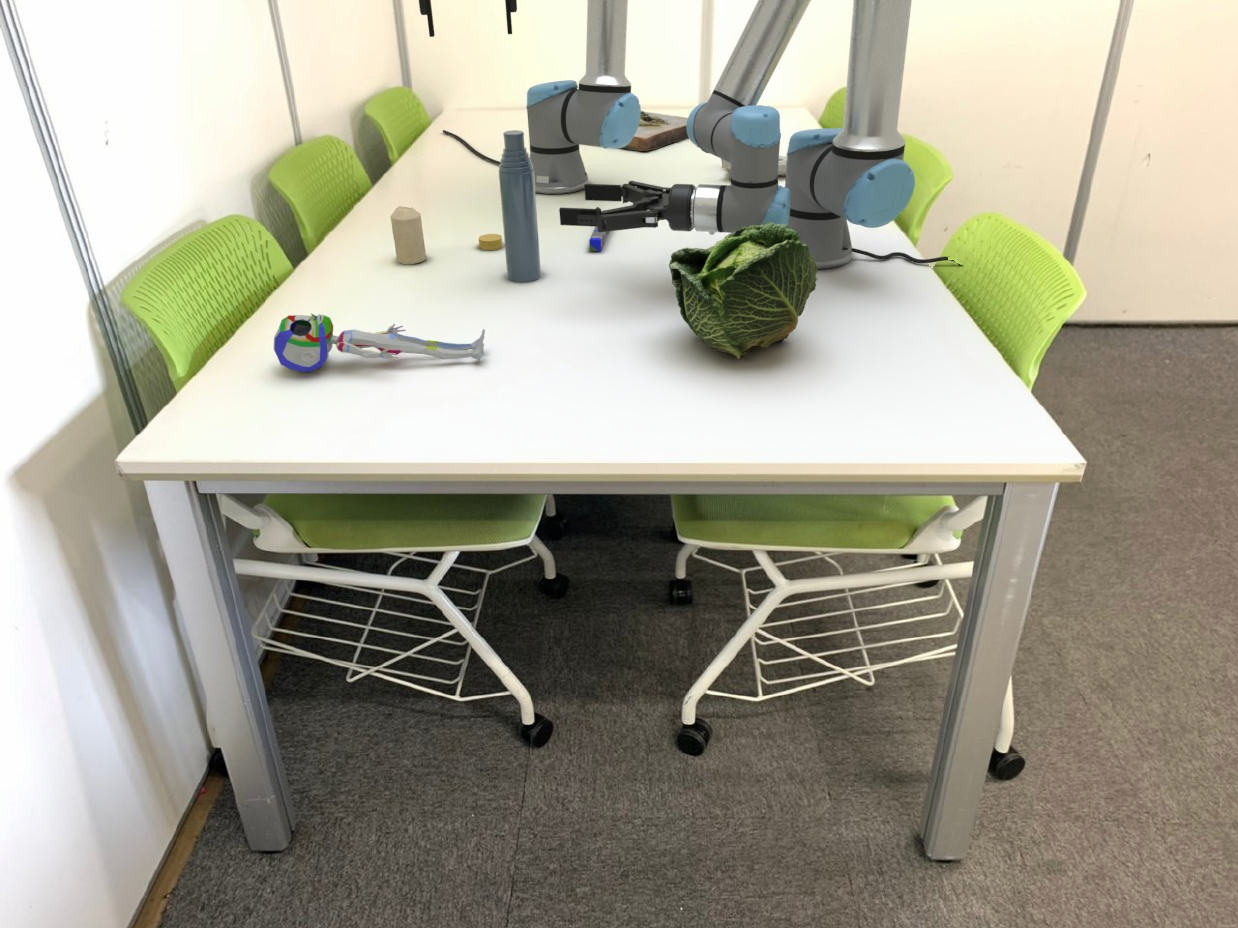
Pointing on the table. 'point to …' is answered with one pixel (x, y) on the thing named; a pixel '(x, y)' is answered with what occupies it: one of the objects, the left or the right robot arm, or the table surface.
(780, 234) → the vegetable
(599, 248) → the pillar
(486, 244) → the cap
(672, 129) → the plaque
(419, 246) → the candle
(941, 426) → the table surface
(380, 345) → the toy
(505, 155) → the bottle
